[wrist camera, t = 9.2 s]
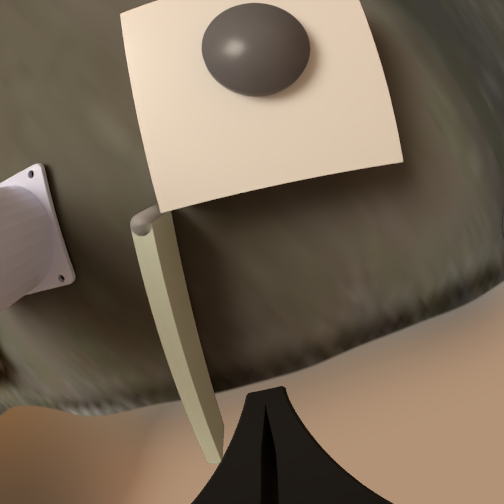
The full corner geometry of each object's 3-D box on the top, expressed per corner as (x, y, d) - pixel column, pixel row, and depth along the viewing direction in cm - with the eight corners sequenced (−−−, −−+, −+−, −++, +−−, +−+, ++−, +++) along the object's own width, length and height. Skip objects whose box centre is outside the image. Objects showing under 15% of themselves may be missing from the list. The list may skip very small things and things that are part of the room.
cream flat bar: (152, 203, 16) (128, 215, 13) (169, 200, 16) (149, 211, 13) (211, 426, 21) (208, 463, 18) (224, 425, 21) (222, 463, 18)
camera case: (179, 201, 17) (157, 215, 12) (143, 40, 14) (115, 9, 9) (370, 160, 16) (409, 162, 12) (328, 6, 13) (351, -32, 9)
